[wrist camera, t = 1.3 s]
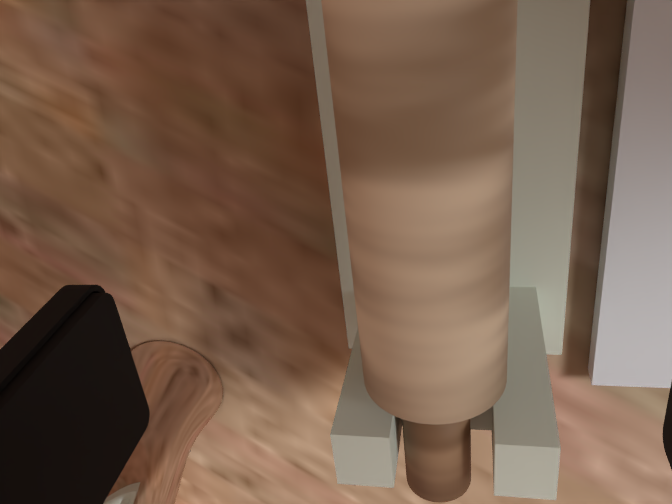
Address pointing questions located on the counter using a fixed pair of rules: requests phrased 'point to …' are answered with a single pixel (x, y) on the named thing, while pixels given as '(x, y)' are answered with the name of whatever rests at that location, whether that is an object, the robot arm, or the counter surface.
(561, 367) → the counter surface
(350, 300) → the pin stand
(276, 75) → the counter surface
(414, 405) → the rolling pin
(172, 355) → the beer glass
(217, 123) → the counter surface
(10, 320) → the counter surface
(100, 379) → the robot arm
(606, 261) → the pastry board
